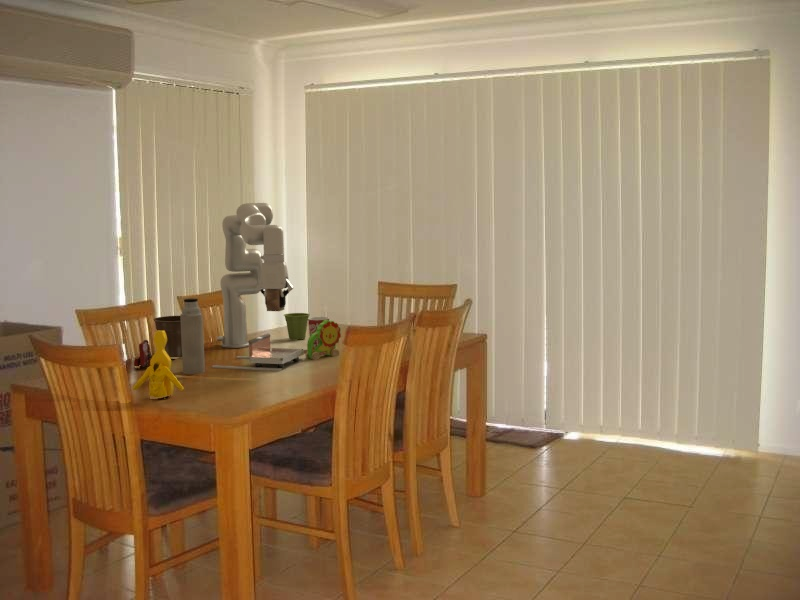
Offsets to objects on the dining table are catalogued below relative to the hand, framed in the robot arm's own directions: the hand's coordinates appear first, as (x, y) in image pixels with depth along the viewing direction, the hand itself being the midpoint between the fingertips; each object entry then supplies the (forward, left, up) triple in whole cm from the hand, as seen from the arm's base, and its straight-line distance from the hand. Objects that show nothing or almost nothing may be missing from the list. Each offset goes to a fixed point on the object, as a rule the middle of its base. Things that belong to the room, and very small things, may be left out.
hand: (275, 306), depth 352 cm
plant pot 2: (-19, +64, -24) cm, 71 cm away
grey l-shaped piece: (0, 0, -22) cm, 22 cm away
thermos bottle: (-25, -19, -24) cm, 39 cm away
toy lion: (+11, +21, -24) cm, 33 cm away
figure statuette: (-16, -57, -24) cm, 64 cm away
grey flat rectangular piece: (-8, 0, -23) cm, 25 cm away
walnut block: (0, 0, -1) cm, 1 cm away
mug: (+1, +41, -24) cm, 47 cm away
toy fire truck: (-50, -11, -24) cm, 56 cm away
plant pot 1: (-50, +11, -24) cm, 56 cm away
